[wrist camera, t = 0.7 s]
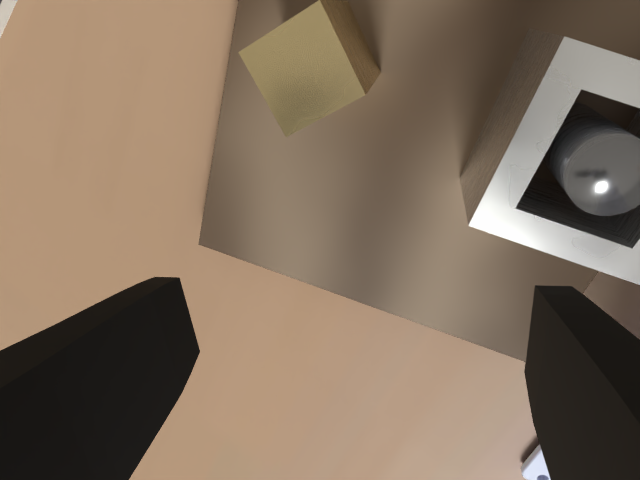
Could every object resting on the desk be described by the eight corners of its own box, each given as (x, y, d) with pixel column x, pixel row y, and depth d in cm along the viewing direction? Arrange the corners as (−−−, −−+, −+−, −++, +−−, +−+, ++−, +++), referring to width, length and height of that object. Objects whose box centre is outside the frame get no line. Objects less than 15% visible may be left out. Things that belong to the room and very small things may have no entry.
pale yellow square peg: (347, 1, 14) (319, -1, 10) (381, 72, 15) (365, 94, 11) (285, 40, 15) (237, 52, 11) (318, 106, 16) (286, 137, 12)
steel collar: (693, 81, 13) (786, 107, 10) (596, 224, 16) (644, 286, 12) (529, 28, 14) (564, 36, 10) (459, 178, 16) (468, 225, 13)
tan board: (894, -182, 11) (934, -198, 10) (527, 348, 20) (531, 364, 19) (309, -349, 12) (300, -377, 11) (208, 234, 21) (198, 244, 20)
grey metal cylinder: (613, 113, 14) (681, 153, 10) (578, 171, 15) (628, 226, 11) (551, 93, 14) (596, 125, 10) (521, 152, 15) (551, 200, 11)
